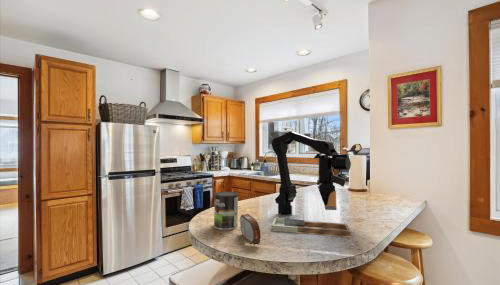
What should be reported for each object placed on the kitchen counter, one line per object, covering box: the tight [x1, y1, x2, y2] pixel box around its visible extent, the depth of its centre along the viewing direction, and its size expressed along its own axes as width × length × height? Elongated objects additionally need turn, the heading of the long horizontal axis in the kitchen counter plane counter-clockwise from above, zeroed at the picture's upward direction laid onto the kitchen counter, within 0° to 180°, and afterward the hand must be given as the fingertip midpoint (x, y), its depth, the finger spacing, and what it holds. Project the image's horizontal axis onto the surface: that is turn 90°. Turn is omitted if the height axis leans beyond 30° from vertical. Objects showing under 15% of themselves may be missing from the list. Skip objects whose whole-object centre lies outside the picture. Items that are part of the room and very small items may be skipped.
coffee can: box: [213, 191, 239, 231], centre depth 101 cm, size 10×10×14 cm
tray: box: [270, 216, 299, 234], centre depth 99 cm, size 10×12×3 cm
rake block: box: [323, 190, 338, 211], centre depth 104 cm, size 5×5×8 cm
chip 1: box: [284, 215, 296, 226], centre depth 98 cm, size 4×4×4 cm
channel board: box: [297, 220, 352, 238], centre depth 95 cm, size 20×12×2 cm, turn 77°
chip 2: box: [294, 216, 305, 227], centre depth 97 cm, size 4×4×4 cm
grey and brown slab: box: [239, 213, 261, 245], centre depth 87 cm, size 15×3×8 cm, turn 21°
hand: (325, 204), depth 105 cm, fingers closed on rake block, 4 cm apart
